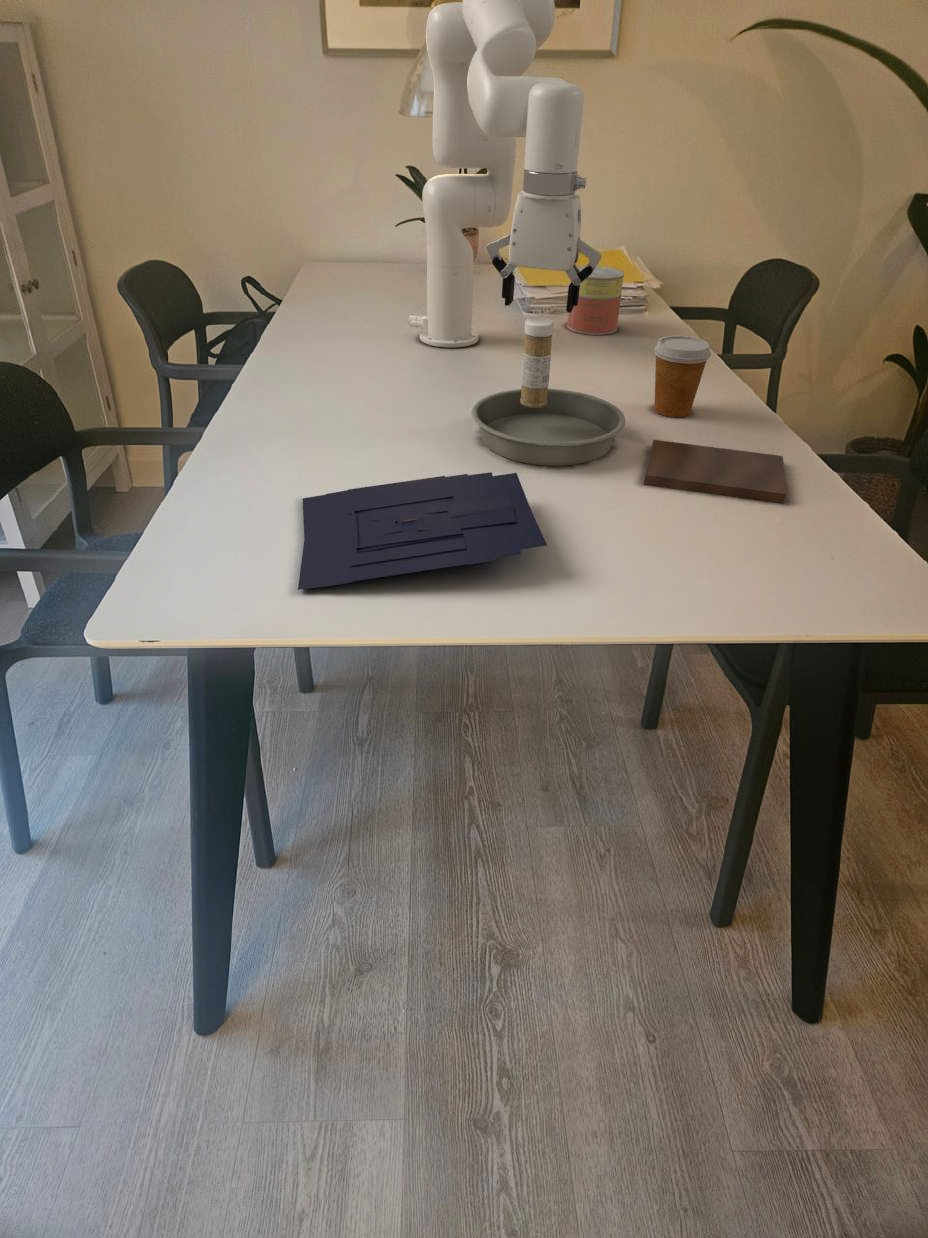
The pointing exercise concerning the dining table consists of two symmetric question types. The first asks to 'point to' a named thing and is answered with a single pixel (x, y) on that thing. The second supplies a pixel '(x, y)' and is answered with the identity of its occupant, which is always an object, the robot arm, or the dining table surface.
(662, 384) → the disposable coffee cup
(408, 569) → the papers
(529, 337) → the sprinkles bottle
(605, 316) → the canned food
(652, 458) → the walnut serving board
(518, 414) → the cake pan
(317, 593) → the dining table surface
